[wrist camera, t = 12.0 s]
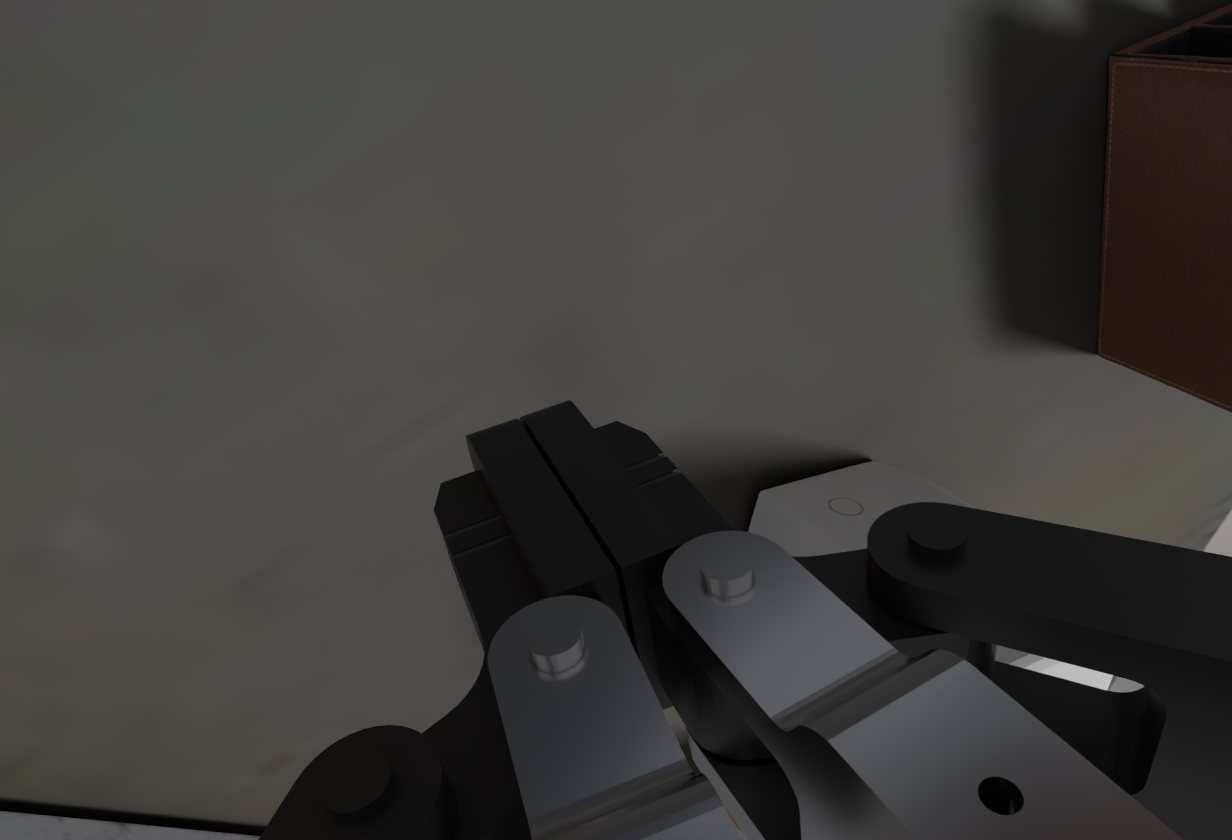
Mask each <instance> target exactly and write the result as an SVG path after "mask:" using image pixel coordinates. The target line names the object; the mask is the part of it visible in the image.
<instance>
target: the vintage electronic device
mask: <svg viewBox="0 0 1232 840" xmlns="http://www.w3.org/2000/svg"><path fill="white" fill-rule="evenodd" d="M259 838H260V836H252V835H242V834H232V833H221V832H211V831H201V830H190V829H180V828H170V827H160V826H149V825H139V824H129V823H119V822H108V821H98V820H88V819H77V818H67V817H57V816H47V815H36V814H26V813H16V812H6V811H0V840H258V839H259Z"/></svg>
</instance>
